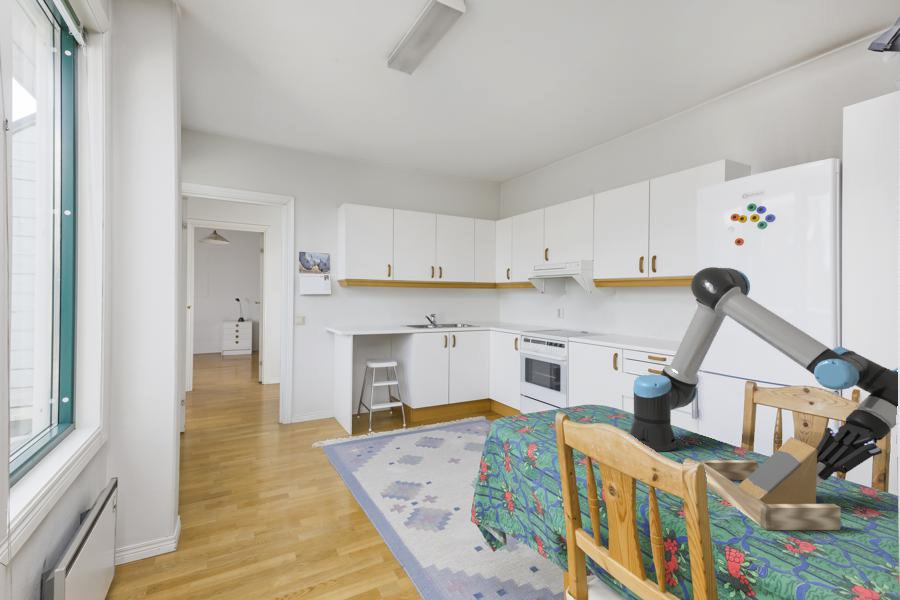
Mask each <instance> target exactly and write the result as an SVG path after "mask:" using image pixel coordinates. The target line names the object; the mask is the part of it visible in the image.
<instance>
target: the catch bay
mask: <svg viewBox="0 0 900 600" xmlns="http://www.w3.org/2000/svg"><path fill="white" fill-rule="evenodd" d="M696 461H697V462H700V463H702V464H704V467H705V472H706V477H707V486H706V487H707V488H709V489H710V490H711V491H713V492H714V494H717V495H718V496H719V497H720V498H721V499H723V500H725V501H726V502H728V503H729V504H730V505H731V506H733V507H734V508H735V507H736V508H735V509H737V510H738V511H739V510H740V512H741V513H742V514H743V515H744V516H746V517H747V518H749V519H750V520H752V521H753V522H754V523H756V524H757V525H758V526H760V528H762V529H764V530H765V531H817V530H818V531H824V530H826V531H827V530H829V531H834V530H835V531H838V530H839V531H841V526H842V525H841V523H842V522H841V519H842V517H841V510H842V508H841V506H839V505H837V504H835V503H816V504H765V503H763V502H762V501H760V500H759V499H757V498H756V497H754V496H753V495H751V494H750V493H748V492H747V491H745V490H744V489H742V488H741V487H739V486H738V485H739V484H736V483H735V482H733V481H744V480H745V479H746V478H747V477H748V476H749V475H751V474H752V473H753V472H754V471H755V470H756V469H757V468H758V467H759V462H758V461H756V460H754V459H740V460H739V459H734V460H733V459H731V460H729V459H723V460H722V459H720V460H719V459H717V460H716V459H712V460H710V459H709V460H708V459H707V460H705V459H704V460H703V459H702V460H701V459H700V460H695V462H696Z"/></svg>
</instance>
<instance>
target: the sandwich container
mask: <svg viewBox="0 0 900 600" xmlns="http://www.w3.org/2000/svg"><path fill="white" fill-rule="evenodd" d="M816 448H817V447H813V446H811V445H809V444H808V443H805V442H804V441H801V440H799V439H797V438H794V437H793V436H790V437H789V438H788V439H787V440H786V441H785V442H784V443H783V444H782V445H781V446H779V448H778V449H777V450H776V451H775V452H773V454H772V455H770V456H769V457H768V458H767V459H766V460H765V461H763V462H762V463H761V464H760V465H758V468H757V469H756V470H755V471H754V472H753V473H752V474H751V475H749V476H748V477H747V478H746V479H745V480H742V482H740V483H739V484H737V485H738V486H739V487H741V488H742V489H744V490H745V491H747V492H748V493H750V494H751V495H753V496H754V497H756V498H757V499H759V500H760V501H762V502H763V503H765V504H817V487H816V480H817V449H816Z"/></svg>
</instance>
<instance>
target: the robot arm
mask: <svg viewBox="0 0 900 600" xmlns="http://www.w3.org/2000/svg"><path fill="white" fill-rule="evenodd" d="M690 287H691V288H690V289H691V291H692V295H693V296H694V297H695V302H696V304H697V307H696V310H695V313H694V314H693V316H692V319H691V321H690V323H689V324H688V327H687V330H686V331H685V333H684V335H683V338H682V339H681V341H680V343H679V346H678V348H677V351H676V353H675V354H674V357H673V359H672V361H671V363H670V364H668V365H665V366H664V367H663V370H662V371H661V374H654V373H653V374H650V373H649V374H643V375H639V376H637V377H636V378H635V379H634V382H633V383H634V384H633V388H632V389H633V421H632V423H631V426H630V430H629V432H628V434H629V433H630V434H631V435H633V436H634V437H635V438H637V439H638V440H639V441H641V442H642V443H643V444H645V445H647V446H649V447H650V448H652V449H654V450H655V451H654V452H671V451H674V450H676V449H677V439H676V436H675V433H674V431H673V427H672V424H671V421H672V420H671V416H672V415H671V413H672V412H671V411H673V410H676V409H680V408H684V407H687V406H689V405H690V404H691V403H692V402H693V401H694V400H695V399H696V397H697V391H698V389H697V385H698V383H699V380H698V378H697V374H698V372H699V370H700V368H701V365H702V364H703V362H704V360H705V358H706V355H707V354H708V352H709V350H710V347H711V346H712V344H713V342H714V339H715V338H716V336H717V333H718V332H719V330H720V328H721V326H722V324H723V322H724V320H725V318H726V317H727V316H728V317H729V318H730V319H731V320H733V321H735V322H736V323H738V324H739V325H741V326H742V327H743V328H745V329H746V330H748V331H749V332H751V333H752V334H754V335H755V336H757V337H758V338H760V339H761V340H763V341H764V342H766V343H767V344H768V345H770V346H771V347H773V349H775V350H777V351H779V352H780V353H782V354H783V355H784V356H786V357H788V358H789V359H790V360H792V361H793V362H795V363H796V364H797V365H799V366H801V367H802V368H803V369H805V370H807V371H808V372H809V373H811V374H813V376H814V377H815V380H816V381H817V383H818V384H820V385H821V386H822V387H824V388H826V389H829V390H834V391H838V390H839V391H841V390H847V389H850V388H853V387H854V386H856V387H858V388H859V389H861V390H863V391H865V392H867V393H869V394H868V396H867V397H865V398H864V400H862V401H861V403H859V404H858V405H857V407H856V409H854V410H852V412H850V414H849V415H847V417H846V418H845V423H844V424H843V425H841V426H839V427H838V429H832V428H831V427H826V428H825V431H824V435H823V437H822V438H821V439H820V441H819V443H818V445H817V446H816V447H815V448H816V449H817V480H816V488H817V487H818V486H819V485H820V484H821V483H822V482H823V481H827V480H828V479H829V478H830V477H831V476H832V475H833V474H835V473H837V472H840V473H842V475H843V474H847V473H849V472H850V471H852V470H853V469H854V468H856V467H857V466H859V465H861V464H863V463H864V462H865V461H867V460H869V459H870V458H872V457H874V456H877V455H880V454H882V453H883V451H882V449H881V448H879V447H878V446H877V443H878V441H882V440H883V439H884V438H885V437H886V436H887V435H888V434H890V432H891V429H893V428H895V426H896V425H897V424H896V415H897V406H898V372H897V370H898V367H896V368H894V369H889V368H886V367H884V366H882V365H880V364H878V363H876V362H875V361H873V360H871V359H869V358H866V357H864V356H862V355H861V354H858V353H857V352H856V351H853V350H850V349H848V348H845V347H842V346H836V347H834V348H833V349H831V348H830V347H828V346H827V345H825V344H824V343H822V342H821V341H819V340H817V339H816V338H814V337H812V336H811V335H810V334H808V333H806V332H805V331H803V330H801V329H800V328H798V327H797V326H795V325H794V324H791V323H790V322H789V321H787V320H785V319H784V318H782V317H780V316H779V315H778V314H776V313H774V312H773V311H771V310H769V309H768V308H766V307H765V306H763V305H761V303H759V302H757V301H756V300H754V299H752V298H750V297H749V296H748V295H749V293H750V291H751V284H750V280H749V279H748V276H746V274H745V273H744V272H742V271H741V270H738V269H736V268H730V267H715V266H714V267H713V266H712V267H705V268H703V269H701V270H699V271H698V272H697V273H695V274H694V276H693V278H692V279H691V284H690Z"/></svg>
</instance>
